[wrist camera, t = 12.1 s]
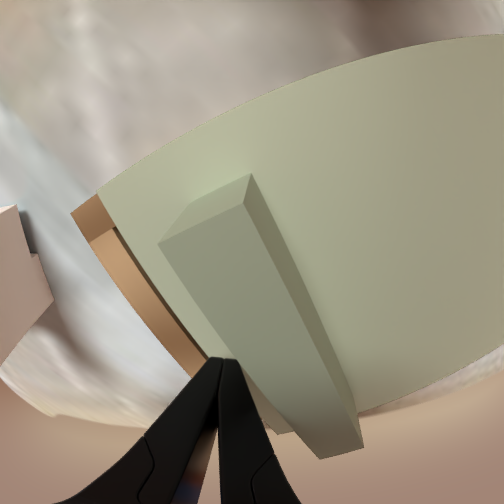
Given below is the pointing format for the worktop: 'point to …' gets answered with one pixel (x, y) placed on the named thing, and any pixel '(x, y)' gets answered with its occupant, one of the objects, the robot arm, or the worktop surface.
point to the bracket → (18, 283)
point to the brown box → (137, 284)
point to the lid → (336, 233)
